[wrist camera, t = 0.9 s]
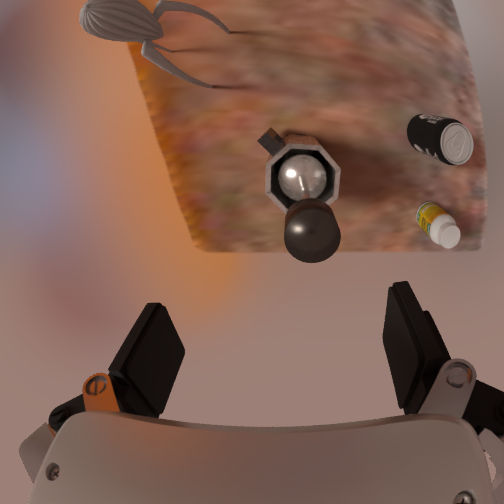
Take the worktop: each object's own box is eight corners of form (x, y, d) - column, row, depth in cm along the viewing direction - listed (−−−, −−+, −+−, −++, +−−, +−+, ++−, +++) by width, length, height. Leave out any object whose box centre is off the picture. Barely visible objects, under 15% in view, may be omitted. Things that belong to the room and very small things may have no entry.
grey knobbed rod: (320, 150, 34) (348, 190, 18) (329, 194, 36) (357, 267, 21) (273, 159, 35) (260, 206, 19) (284, 203, 37) (279, 280, 22)
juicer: (253, 50, 36) (194, -30, 10) (211, 88, 40) (98, 75, 14) (207, 14, 33) (107, -69, 7) (169, 51, 37) (34, 18, 11)
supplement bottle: (442, 219, 45) (466, 243, 37) (420, 232, 47) (441, 258, 39) (434, 195, 43) (459, 215, 35) (411, 209, 45) (433, 232, 37)
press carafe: (339, 165, 44) (355, 185, 33) (297, 200, 47) (299, 229, 37) (289, 110, 40) (290, 111, 30) (247, 149, 44) (234, 163, 34)
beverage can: (398, 135, 40) (430, 146, 29) (417, 106, 36) (453, 109, 26) (425, 159, 41) (460, 177, 30) (443, 131, 37) (482, 142, 27)
